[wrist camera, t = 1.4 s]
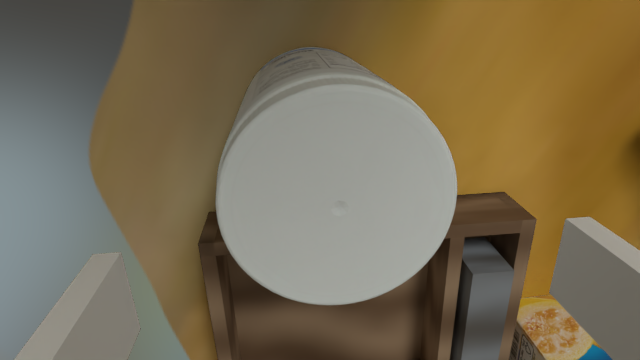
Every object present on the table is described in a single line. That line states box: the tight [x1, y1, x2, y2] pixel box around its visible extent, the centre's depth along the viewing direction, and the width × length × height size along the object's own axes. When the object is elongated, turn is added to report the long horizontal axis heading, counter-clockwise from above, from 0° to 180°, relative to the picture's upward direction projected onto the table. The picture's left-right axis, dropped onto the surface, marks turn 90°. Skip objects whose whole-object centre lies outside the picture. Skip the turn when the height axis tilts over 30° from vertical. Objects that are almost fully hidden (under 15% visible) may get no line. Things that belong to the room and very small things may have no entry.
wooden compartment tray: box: [198, 192, 537, 360], centre depth 33 cm, size 17×23×5 cm
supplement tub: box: [216, 47, 457, 305], centre depth 22 cm, size 10×10×15 cm
